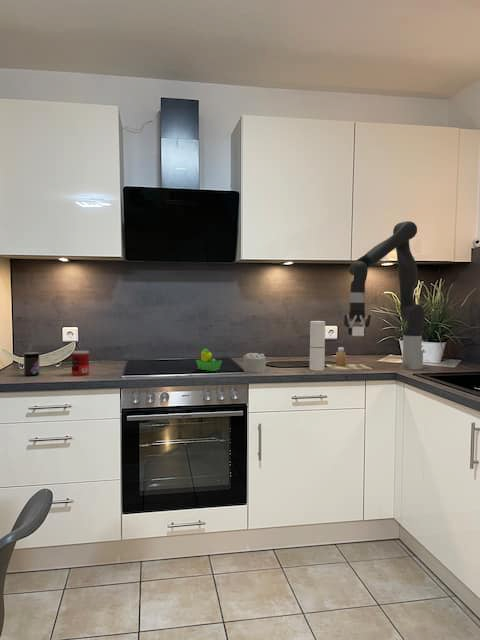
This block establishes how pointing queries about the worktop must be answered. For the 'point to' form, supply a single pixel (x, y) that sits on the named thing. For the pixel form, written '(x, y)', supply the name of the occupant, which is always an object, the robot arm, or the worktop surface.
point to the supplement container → (31, 364)
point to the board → (348, 366)
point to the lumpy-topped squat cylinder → (254, 363)
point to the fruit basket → (208, 362)
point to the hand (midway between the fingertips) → (356, 335)
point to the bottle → (340, 357)
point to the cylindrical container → (317, 345)
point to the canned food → (80, 363)
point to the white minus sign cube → (357, 331)
